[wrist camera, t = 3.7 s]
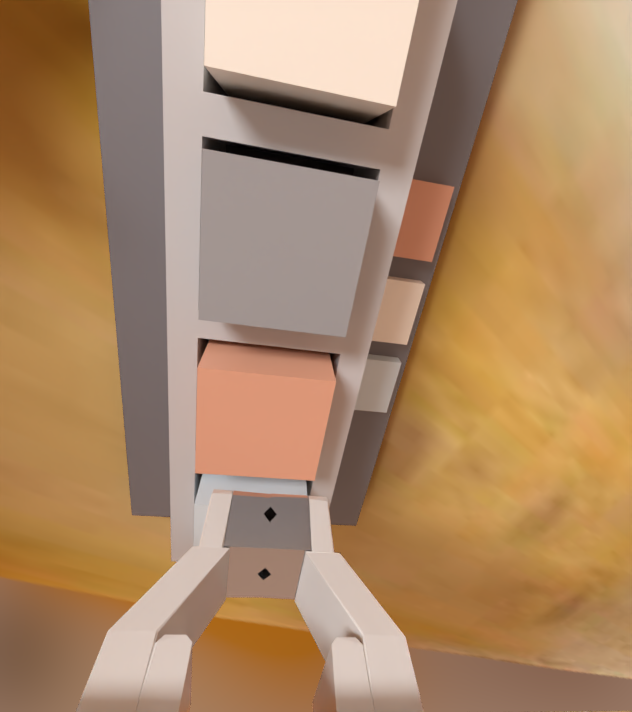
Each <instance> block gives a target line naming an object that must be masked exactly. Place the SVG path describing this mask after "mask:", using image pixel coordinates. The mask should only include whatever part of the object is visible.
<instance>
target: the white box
mask: <svg viewBox="0 0 632 712" xmlns="http://www.w3.org/2000/svg"><path fill="white" fill-rule="evenodd" d="M214 489H218V490H229V491H233V492H234V491H244V492H254V493H265V494H290V495H307V485H306V480H294V479H278V478H262V477H247V476H231V475H215V474H202V478H201V481H200V485H199V489H198V493H197V496H196V500H195V504H194V541H193V546H199V543H200V539H201V535H202V531H203V527H204V523H205V519H206V515H207V510H208V506H209V502H210V498H211V494H212V492H213V490H214Z"/></svg>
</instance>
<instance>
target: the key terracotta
mask: <svg viewBox="0 0 632 712" xmlns="http://www.w3.org/2000/svg"><path fill="white" fill-rule="evenodd" d="M335 385H336V379H335V375H334V371H333V366H332V362H331V358H330V354H329V353H328V352H319V351H310V350H301V349H293V348H284V347H275V346H266V345H257V344H249V343H240V342H231V341H222V340H213V339H210V340H209V342H208V344H207V347H206V349H205V351H204V353H203V356H202V358H201V360H200V363H199V365H198V367H197V407H196V451H195V473H199V474H215V475H231V476H247V477H262V478H278V479H294V480H310V481H315V477H316V472H317V468H318V463H319V459H320V454H321V449H322V445H323V440H324V436H325V431H326V426H327V422H328V417H329V413H330V408H331V403H332V399H333V394H334V390H335Z"/></svg>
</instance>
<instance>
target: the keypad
mask: <svg viewBox="0 0 632 712" xmlns="http://www.w3.org/2000/svg"><path fill="white" fill-rule="evenodd" d="M517 1H518V0H419V3H418V8H417V13H416V17H415V22H414V26H413V31H412V36H411V40H410V45H409V49H408V54H407V59H406V63H405V68H404V72H403V77H402V82H401V86H400V91H399V95H398V100H397V105H396V107H394V108H393V109H391V110H389V111H387V112H385V113H383V114H381V115H379V116H378V117H376V118H374V119H372V120H370V121H368V122H366V123H364V124H362V123H357V122H352V121H347V120H342V119H337V118H333V117H328V116H323V115H318V114H313V113H308V112H303V111H298V110H294V109H289V108H284V107H279V106H274V105H269V104H264V103H259V102H254V101H250V100H245V99H240V98H235V97H230V96H228V95H227V93H226V92H225V91H224V90H223V88H222V87H221V86H220V85H219V84H218V82H217V81H216V80H215V79H214V77H213V76H212V75H211V74H210V72H209V71H208V70H207V69H206V67H205V66H204V47H205V2H206V0H88V3H89V14H90V26H91V38H92V50H93V62H94V73H95V85H96V97H97V109H98V120H99V132H100V144H101V156H102V168H103V179H104V191H105V203H106V215H107V226H108V238H109V250H110V262H111V274H112V285H113V297H114V309H115V321H116V332H117V344H118V356H119V368H120V380H121V391H122V403H123V415H124V427H125V438H126V450H127V462H128V474H129V486H130V497H131V509H132V515H140V516H161V517H171V561H178V560H179V559H180V558H181V557H182V556H183V555H184V554H185V553H186V552H187V551H188V550H189V549H190V548H191V547H192V546H193V541H194V504H195V500H196V496H197V493H198V489H199V485H200V481H201V478H202V474H199V473H195V451H196V407H197V367H198V365H199V363H200V360H201V358H202V356H203V353H204V351H205V349H206V347H207V344H208V342H209V340H210V339H213V340H222V341H231V342H240V343H249V344H257V345H266V346H275V347H284V348H293V349H301V350H310V351H319V352H328V353H329V354H330V358H331V362H332V366H333V371H334V375H335V379H336V385H335V390H334V394H333V399H332V403H331V408H330V413H329V417H328V422H327V426H326V431H325V436H324V440H323V445H322V449H321V454H320V459H319V463H318V468H317V472H316V477H315V481H310V480H306V485H307V496H322V497H327V499H328V504H329V512H330V520H331V524H332V525H354V526H356V524H357V521H358V518H359V515H360V511H361V508H362V505H363V502H364V498H365V495H366V492H367V489H368V485H369V482H370V479H371V476H372V472H373V469H374V466H375V463H376V459H377V456H378V453H379V450H380V446H381V443H382V440H383V437H384V433H385V430H386V427H387V424H388V420H389V417H390V414H391V411H392V407H393V404H394V401H395V398H396V394H397V391H398V388H399V385H400V381H401V378H402V375H403V372H404V368H405V365H406V362H407V359H408V355H409V352H410V349H411V346H412V342H413V339H414V336H415V333H416V329H417V326H418V323H419V319H420V316H421V313H422V310H423V306H424V303H425V300H426V297H427V293H428V290H429V287H430V284H431V280H432V277H433V274H434V271H435V267H436V264H437V261H438V258H439V254H440V251H441V248H442V245H443V241H444V238H445V235H446V232H447V228H448V225H449V222H450V219H451V215H452V212H453V209H454V206H455V202H456V199H457V196H458V193H459V189H460V186H461V183H462V180H463V176H464V173H465V170H466V167H467V163H468V160H469V157H470V154H471V150H472V147H473V144H474V141H475V137H476V134H477V131H478V128H479V124H480V121H481V118H482V115H483V111H484V108H485V105H486V102H487V98H488V95H489V92H490V89H491V85H492V82H493V79H494V76H495V72H496V69H497V66H498V63H499V59H500V56H501V53H502V50H503V46H504V43H505V40H506V37H507V33H508V30H509V27H510V24H511V20H512V17H513V14H514V11H515V7H516V4H517ZM202 148H203V149H209V150H214V151H219V152H225V153H230V154H236V155H241V156H247V157H252V158H258V159H263V160H269V161H274V162H279V163H285V164H290V165H296V166H301V167H307V168H312V169H318V170H323V171H328V172H334V173H339V174H345V175H350V176H356V177H361V178H367V179H372V180H377V181H380V183H379V187H378V192H377V196H376V201H375V206H374V210H373V215H372V219H371V224H370V229H369V233H368V238H367V242H366V247H365V252H364V256H363V261H362V265H361V270H360V275H359V279H358V284H357V288H356V293H355V298H354V302H353V307H352V311H351V316H350V321H349V325H348V330H347V334H346V337H338V336H330V335H321V334H313V333H305V332H296V331H288V330H280V329H271V328H263V327H255V326H246V325H238V324H230V323H221V322H213V321H205V320H198V317H199V272H200V227H201V182H202Z"/></svg>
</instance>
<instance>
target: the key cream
mask: <svg viewBox="0 0 632 712" xmlns="http://www.w3.org/2000/svg"><path fill="white" fill-rule="evenodd" d="M418 3H419V0H206V2H205V47H204V66H205V67H206V69H207V70H208V71H209V72H210V74H211V75H212V76H213V77H214V79H215V80H216V81H217V82H218V84H219V85H220V86H221V87H222V88H223V90H224V91H225V92H226V93H227V95H228V96H230V97H235V98H240V99H245V100H250V101H254V102H259V103H264V104H269V105H274V106H279V107H284V108H289V109H294V110H298V111H303V112H308V113H313V114H318V115H323V116H328V117H333V118H337V119H342V120H347V121H352V122H357V123H362V124H364V123H366V122H368V121H370V120H372V119H374V118H376V117H378V116H379V115H381V114H383V113H385V112H387V111H389V110H391V109H393V108H394V107H396V105H397V100H398V95H399V91H400V86H401V82H402V77H403V72H404V68H405V63H406V59H407V54H408V49H409V45H410V40H411V36H412V31H413V26H414V22H415V17H416V13H417V8H418Z"/></svg>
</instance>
